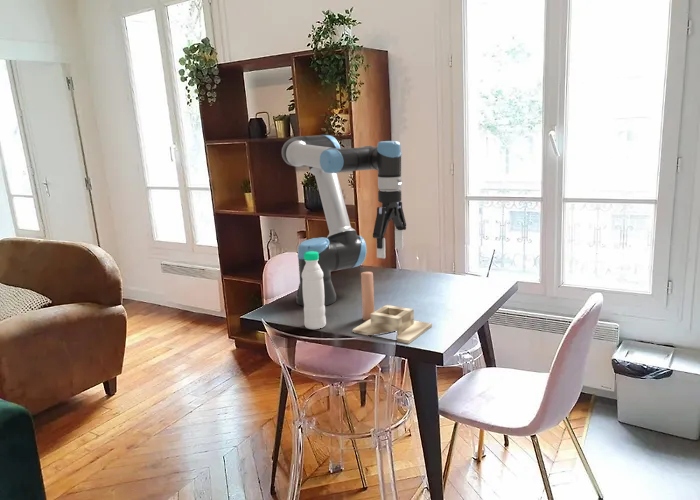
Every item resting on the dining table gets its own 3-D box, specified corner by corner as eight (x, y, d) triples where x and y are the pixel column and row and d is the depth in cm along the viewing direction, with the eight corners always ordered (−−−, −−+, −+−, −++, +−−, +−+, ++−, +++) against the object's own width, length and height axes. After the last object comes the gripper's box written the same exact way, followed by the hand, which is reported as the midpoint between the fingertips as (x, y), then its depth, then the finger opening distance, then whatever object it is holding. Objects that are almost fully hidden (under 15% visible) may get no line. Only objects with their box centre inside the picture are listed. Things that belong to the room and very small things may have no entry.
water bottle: (326, 321, 183) (322, 249, 178) (326, 329, 177) (322, 254, 171) (305, 323, 183) (300, 250, 178) (304, 330, 176) (299, 255, 171)
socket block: (352, 332, 173) (351, 314, 172) (378, 317, 186) (377, 300, 185) (409, 343, 162) (408, 324, 161) (432, 326, 175) (431, 308, 174)
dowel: (360, 319, 184) (358, 274, 181) (366, 316, 187) (365, 271, 184) (370, 321, 182) (369, 275, 179) (376, 317, 185) (375, 272, 182)
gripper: (382, 195, 165) (383, 263, 170) (415, 185, 186) (415, 246, 191) (360, 194, 169) (362, 260, 174) (395, 184, 189) (396, 244, 194)
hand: (390, 253), depth 182 cm, fingers open, 13 cm apart
